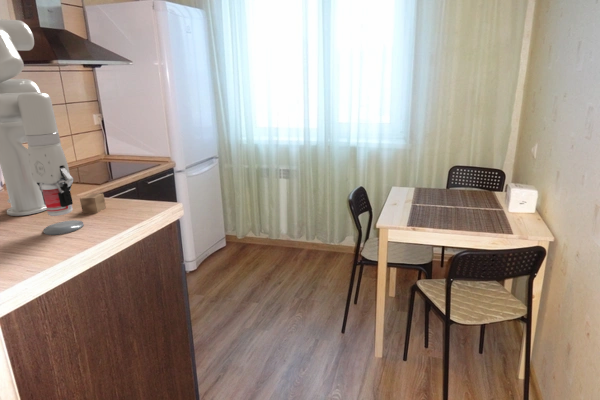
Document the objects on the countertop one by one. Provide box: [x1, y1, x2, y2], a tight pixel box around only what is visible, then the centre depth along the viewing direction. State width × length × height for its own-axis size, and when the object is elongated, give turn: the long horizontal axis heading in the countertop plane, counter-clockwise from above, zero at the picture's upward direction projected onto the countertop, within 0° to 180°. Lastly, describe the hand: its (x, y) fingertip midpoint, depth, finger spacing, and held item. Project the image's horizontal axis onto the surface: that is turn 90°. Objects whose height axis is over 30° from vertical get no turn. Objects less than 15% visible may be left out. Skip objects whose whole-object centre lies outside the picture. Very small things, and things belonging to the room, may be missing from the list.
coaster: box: [42, 219, 85, 236], centre depth 115 cm, size 10×10×1 cm
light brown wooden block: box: [79, 193, 107, 214], centre depth 130 cm, size 5×5×5 cm
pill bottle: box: [42, 179, 73, 217], centre depth 112 cm, size 6×6×11 cm
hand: (58, 204), depth 113 cm, fingers closed on pill bottle, 6 cm apart
